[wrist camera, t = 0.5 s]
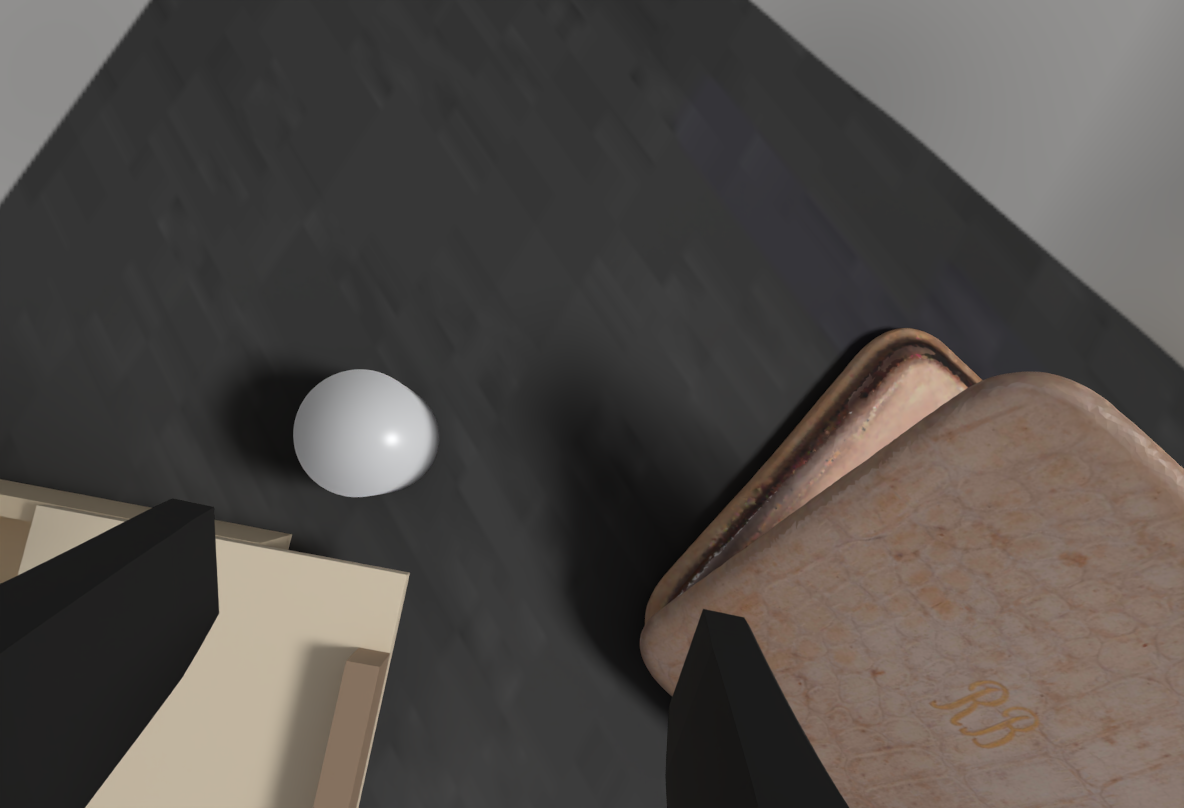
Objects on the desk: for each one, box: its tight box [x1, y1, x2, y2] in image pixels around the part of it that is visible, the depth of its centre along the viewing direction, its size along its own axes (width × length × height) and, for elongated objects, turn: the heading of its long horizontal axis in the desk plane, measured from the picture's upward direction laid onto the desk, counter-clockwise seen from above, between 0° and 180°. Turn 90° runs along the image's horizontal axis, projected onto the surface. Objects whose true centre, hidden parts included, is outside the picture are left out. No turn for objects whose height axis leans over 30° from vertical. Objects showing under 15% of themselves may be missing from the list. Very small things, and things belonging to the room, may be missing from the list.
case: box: [640, 328, 1184, 808], centre depth 28 cm, size 20×21×16 cm
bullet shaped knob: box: [293, 370, 439, 497], centre depth 32 cm, size 5×5×5 cm
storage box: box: [0, 479, 292, 584], centre depth 30 cm, size 16×14×4 cm
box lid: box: [18, 505, 410, 808], centre depth 27 cm, size 16×14×3 cm
